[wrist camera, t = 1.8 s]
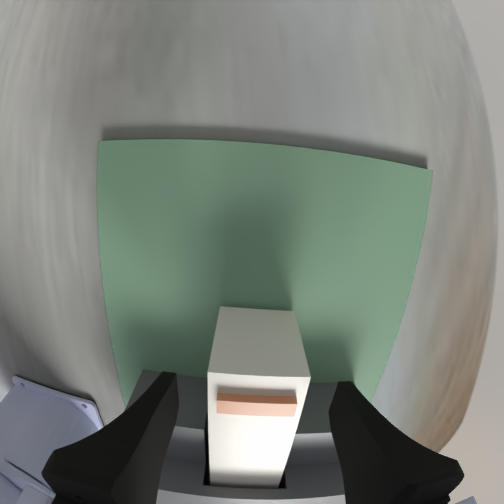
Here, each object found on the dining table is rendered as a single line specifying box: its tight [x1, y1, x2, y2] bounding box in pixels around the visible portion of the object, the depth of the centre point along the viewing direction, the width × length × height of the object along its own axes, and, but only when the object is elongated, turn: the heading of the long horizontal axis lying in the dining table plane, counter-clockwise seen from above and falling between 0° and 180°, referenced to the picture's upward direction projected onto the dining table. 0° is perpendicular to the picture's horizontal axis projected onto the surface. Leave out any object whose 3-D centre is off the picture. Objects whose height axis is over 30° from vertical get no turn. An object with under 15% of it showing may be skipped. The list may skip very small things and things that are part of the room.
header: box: [125, 369, 356, 504], centre depth 16 cm, size 14×8×8 cm, turn 86°
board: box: [97, 139, 433, 407], centre depth 18 cm, size 18×22×1 cm
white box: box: [208, 306, 311, 489], centre depth 15 cm, size 4×10×6 cm, turn 175°
